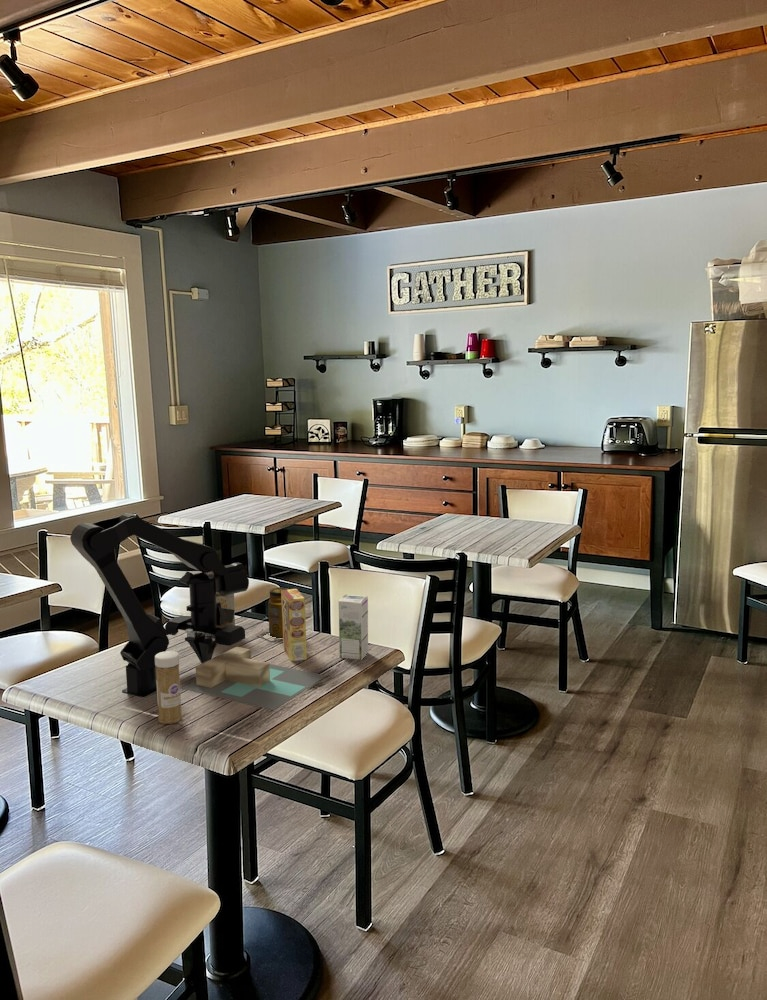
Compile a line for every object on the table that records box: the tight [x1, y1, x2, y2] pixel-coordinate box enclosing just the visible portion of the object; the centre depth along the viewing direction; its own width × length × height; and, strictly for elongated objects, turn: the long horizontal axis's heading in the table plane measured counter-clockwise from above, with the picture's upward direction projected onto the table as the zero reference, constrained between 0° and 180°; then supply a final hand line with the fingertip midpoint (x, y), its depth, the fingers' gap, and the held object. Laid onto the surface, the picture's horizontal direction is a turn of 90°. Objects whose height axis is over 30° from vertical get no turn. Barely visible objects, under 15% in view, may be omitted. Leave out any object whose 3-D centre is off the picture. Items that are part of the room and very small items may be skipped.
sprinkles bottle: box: [155, 650, 183, 725], centre depth 151 cm, size 5×5×13 cm
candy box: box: [281, 588, 308, 662], centre depth 185 cm, size 9×4×15 cm, turn 19°
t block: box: [195, 646, 271, 688], centre depth 171 cm, size 14×13×4 cm
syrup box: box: [338, 594, 369, 661], centre depth 184 cm, size 6×6×14 cm
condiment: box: [256, 587, 289, 641], centre depth 199 cm, size 7×8×12 cm
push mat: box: [181, 663, 327, 711], centre depth 169 cm, size 20×24×1 cm
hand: (206, 666), depth 176 cm, fingers closed
